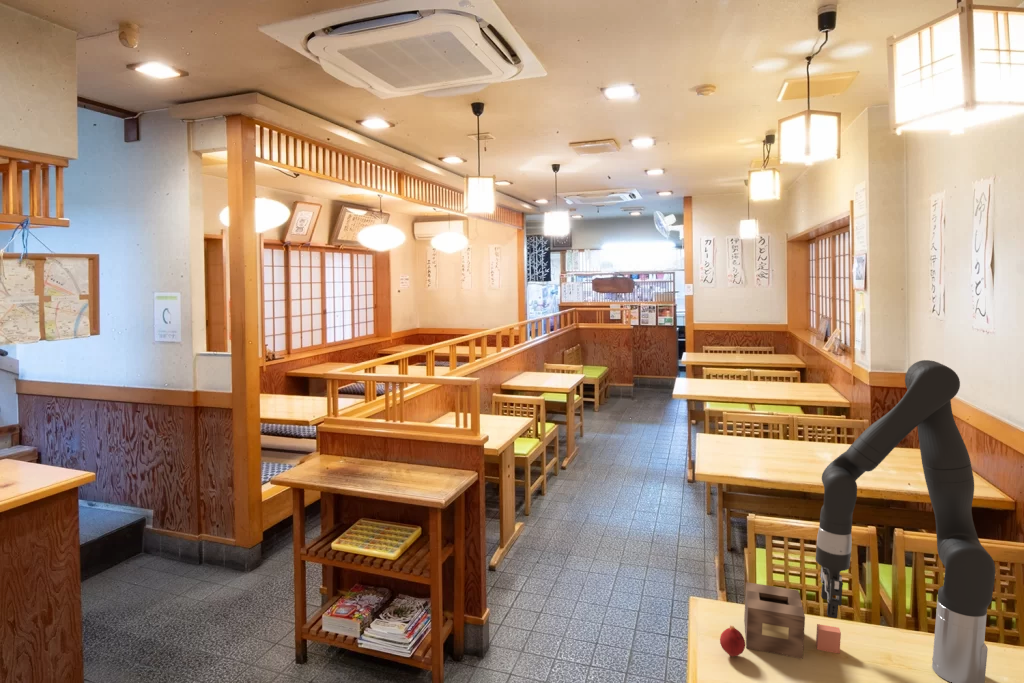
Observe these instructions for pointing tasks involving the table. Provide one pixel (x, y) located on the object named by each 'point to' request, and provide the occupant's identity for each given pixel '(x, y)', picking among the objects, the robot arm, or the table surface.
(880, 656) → the table surface
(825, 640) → the tall salmon pink box
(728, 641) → the red pomegranate
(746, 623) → the box
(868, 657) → the table surface
